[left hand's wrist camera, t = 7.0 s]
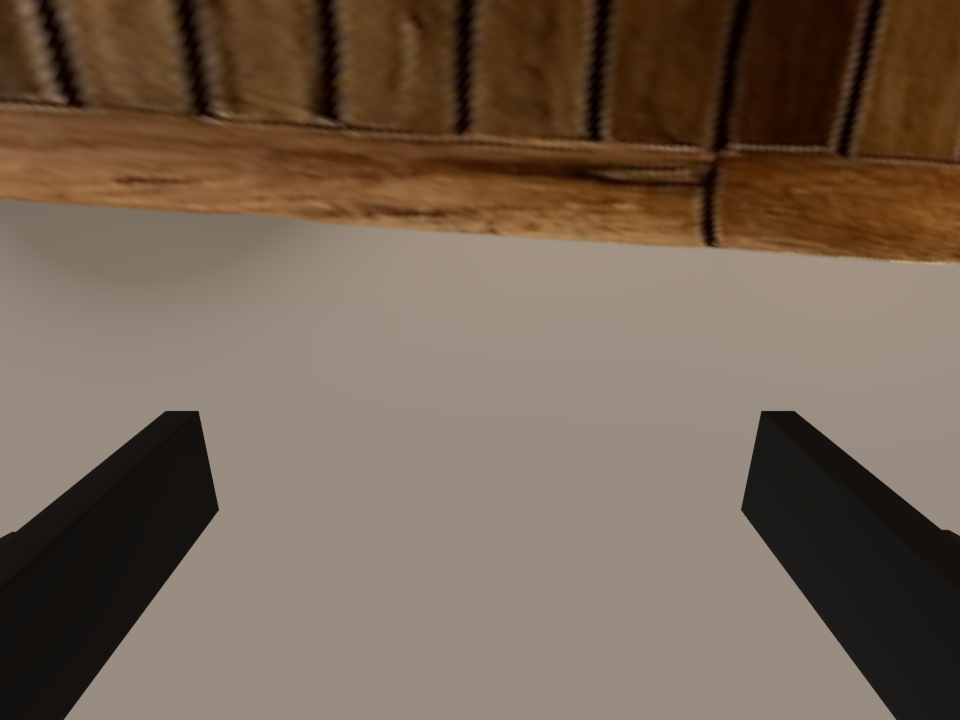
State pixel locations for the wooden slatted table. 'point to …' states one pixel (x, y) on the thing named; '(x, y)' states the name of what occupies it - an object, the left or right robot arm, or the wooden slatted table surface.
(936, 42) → the wooden slatted table surface
